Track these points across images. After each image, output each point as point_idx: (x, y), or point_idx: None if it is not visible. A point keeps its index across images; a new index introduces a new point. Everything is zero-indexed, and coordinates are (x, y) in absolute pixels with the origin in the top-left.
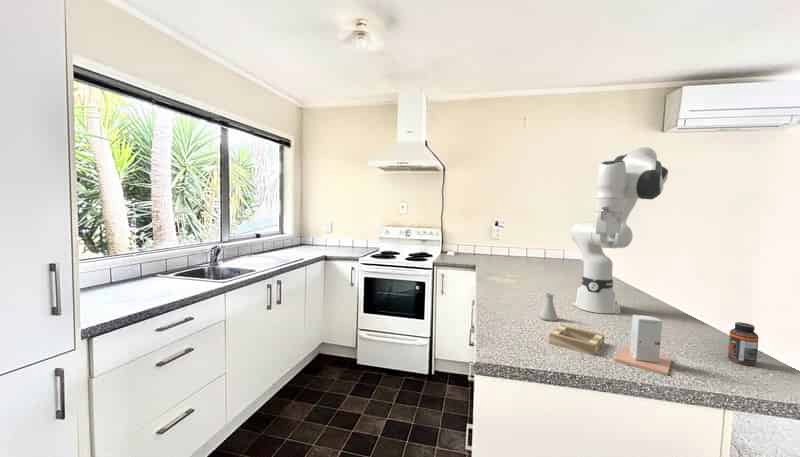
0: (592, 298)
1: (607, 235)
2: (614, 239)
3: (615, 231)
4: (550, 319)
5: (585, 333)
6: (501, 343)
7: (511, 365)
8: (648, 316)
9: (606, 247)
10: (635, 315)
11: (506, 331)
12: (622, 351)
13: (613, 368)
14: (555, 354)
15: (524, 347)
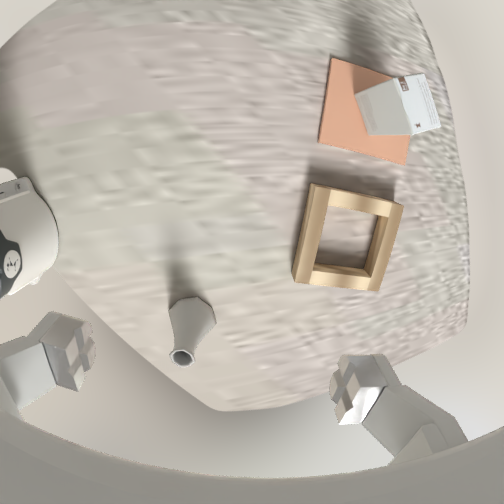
0: (33, 250)
1: (450, 441)
2: (9, 344)
3: (74, 475)
4: (211, 311)
5: (321, 227)
6: (403, 338)
7: (466, 299)
8: (405, 95)
9: (372, 354)
10: (418, 129)
11: (343, 354)
12: (358, 147)
13: (431, 169)
14: (417, 261)
15: (407, 308)
